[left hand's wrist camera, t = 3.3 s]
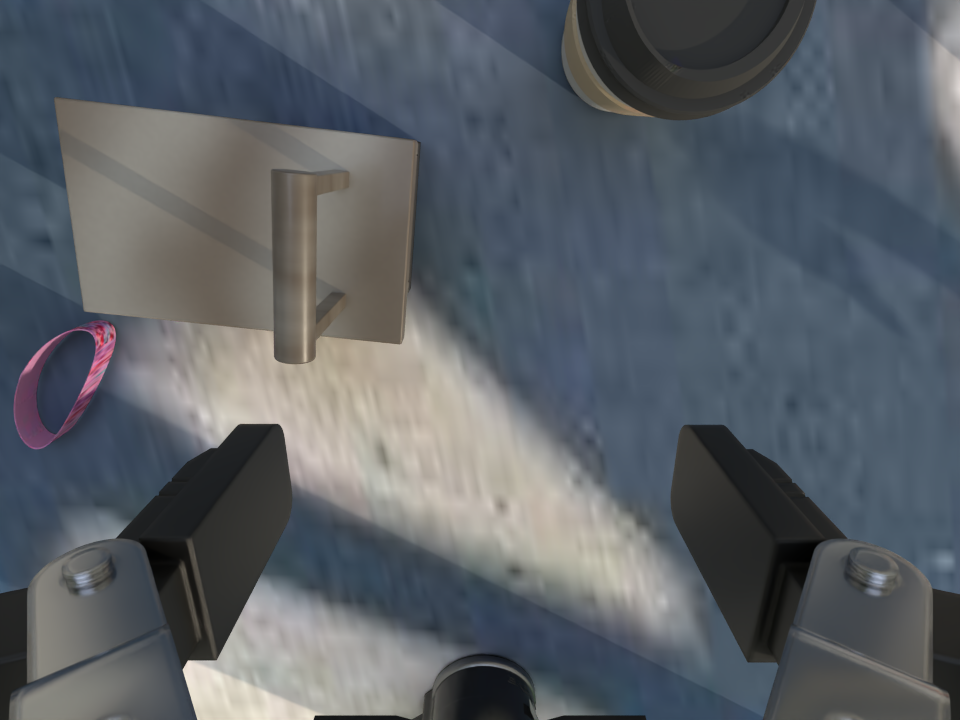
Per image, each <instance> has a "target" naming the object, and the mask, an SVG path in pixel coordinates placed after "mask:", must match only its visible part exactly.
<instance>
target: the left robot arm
mask: <svg viewBox="0 0 960 720" xmlns="http://www.w3.org/2000/svg"><path fill="white" fill-rule="evenodd" d="M291 507H292V488H291V481H290V473H289V466H288V459H287V452H286V445H285V438H284V433H283V430H282V428H281V426H280V425H279V424H240V425H238V426H237V427H236V428H235V429H234V430H233V431H232V432H231V433H230V435H229V436H228V437H227V438H226V439H225V440H224V441H223V443H222V444H221V445H220V446H219V447H218V448H211V449H209V450H207V451H205V452H204V453H202V454H200V455H199V456H197V457H195V458H194V459H192V460H190V461H188V462H187V463H186V464H185V465H184V466H183V467H182V468H181V469H180V470H179V472H178V473H177V474H176V475H175V476H174V477H173V478H172V482H168V483H167V484H166V485H165V486H164V488H163V489H162V490H161V491H160V492H159V496H155V497H154V498H153V499H152V500H151V501H150V502H149V504H148V505H147V506H146V507H145V508H144V509H143V510H142V511H141V512H140V513H139V514H138V515H137V516H136V517H135V518H134V520H133V521H132V522H131V523H130V524H129V525H128V526H127V527H126V528H125V529H124V530H123V531H122V532H121V533H120V534H119V536H118V537H117V538H116V539H108V540H102V541H97V542H93V543H90V544H87V545H84V546H81V547H78V548H76V549H74V550H71V551H69V552H67V553H65V554H63V555H62V556H60V557H58V558H56V559H55V560H53V561H52V562H50V563H49V564H48V565H46V566H45V567H44V568H43V569H42V570H41V571H40V572H39V573H38V574H37V575H36V576H35V577H34V578H33V580H32V581H31V583H30V585H29V587H28V588H24V589H20V590H15V591H10V592H5V593H1V594H0V720H197V717H196V714H195V711H194V707H193V704H192V701H191V697H190V694H189V690H188V687H187V684H186V680H185V677H184V674H183V668H184V666H185V664H186V663H187V661H188V660H217V658H218V657H219V655H220V653H221V651H222V649H223V647H224V645H225V643H226V641H227V639H228V637H229V635H230V633H231V631H232V629H233V627H234V626H235V624H236V622H237V620H238V618H239V616H240V614H241V612H242V610H243V608H244V606H245V604H246V602H247V600H248V598H249V596H250V595H251V593H252V591H253V589H254V587H255V585H256V583H257V581H258V579H259V577H260V575H261V573H262V571H263V569H264V567H265V566H266V564H267V562H268V560H269V558H270V556H271V554H272V552H273V550H274V548H275V546H276V544H277V542H278V540H279V538H280V536H281V535H282V533H283V531H284V529H285V527H286V525H287V523H288V520H289V517H290V513H291ZM671 509H672V515H673V519H674V521H675V524H676V526H677V528H678V530H679V532H680V534H681V536H682V537H683V539H684V541H685V543H686V545H687V547H688V549H689V551H690V553H691V555H692V557H693V559H694V560H695V562H696V564H697V566H698V568H699V570H700V572H701V574H702V576H703V578H704V580H705V582H706V583H707V585H708V587H709V589H710V591H711V593H712V595H713V597H714V599H715V601H716V603H717V604H718V606H719V608H720V610H721V612H722V614H723V616H724V618H725V620H726V622H727V624H728V626H729V627H730V629H731V631H732V633H733V635H734V637H735V639H736V641H737V643H738V645H739V647H740V648H741V650H742V652H743V654H744V656H745V658H746V660H747V662H777V664H778V665H779V667H778V670H777V674H776V677H775V680H774V684H773V687H772V690H771V694H770V697H769V701H768V704H767V707H766V711H765V714H764V717H763V720H960V594H955V593H951V592H946V591H941V590H937V589H933V588H932V587H931V585H930V583H929V581H928V580H927V578H926V577H925V576H924V575H923V574H922V573H921V572H920V571H919V570H918V569H917V568H916V567H915V566H914V565H912V564H911V563H910V562H908V561H907V560H905V559H904V558H902V557H900V556H898V555H897V554H895V553H893V552H891V551H889V550H886V549H884V548H882V547H879V546H876V545H873V544H870V543H867V542H863V541H858V540H852V539H848V538H847V537H846V536H845V535H844V534H843V533H842V532H841V531H840V530H839V529H838V528H837V527H836V526H835V525H834V524H833V523H832V522H831V520H830V519H829V518H828V517H827V516H826V515H825V514H824V513H823V512H822V511H821V510H820V509H819V508H818V507H817V506H816V505H815V504H814V502H813V501H812V500H811V499H810V498H809V497H805V493H804V492H803V491H802V490H801V489H800V488H799V487H798V486H797V485H796V483H792V479H791V478H790V477H789V476H788V475H787V474H786V473H785V472H784V471H783V470H782V469H781V468H780V467H779V465H778V464H777V463H775V462H773V461H772V460H770V459H768V458H767V457H765V456H763V455H761V454H760V453H758V452H756V451H755V450H753V449H745V447H744V446H743V445H742V444H741V443H740V442H739V441H738V440H737V438H736V437H735V436H734V435H733V434H732V433H731V432H730V431H729V429H728V428H727V427H726V426H724V425H684V426H683V427H682V429H681V431H680V434H679V439H678V446H677V453H676V460H675V467H674V474H673V481H672V488H671ZM535 704H536V700H535V690H534V685H533V682H532V680H531V678H530V676H529V675H528V674H527V673H526V671H525V670H523V669H522V668H521V667H520V666H518V665H517V664H515V663H513V662H511V661H509V660H507V659H504V658H500V657H495V656H472V657H467V658H464V659H461V660H458V661H456V662H454V663H452V664H450V665H449V666H448V667H446V668H445V669H444V670H443V671H442V672H441V673H440V674H439V675H438V677H437V679H436V680H435V683H434V686H433V689H432V690H431V691H430V692H428V693H426V694H425V699H424V708H423V714H421V715H419V716H418V717H416V718H414V719H412V720H538V718H537V715H536V711H535V710H536V706H535ZM314 720H411V719H407V718H403V717H400V716H315V717H314ZM549 720H646V717H645V716H560V717H557V718H553V719H549Z"/></svg>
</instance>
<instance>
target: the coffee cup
mask: <svg viewBox="0 0 960 720" xmlns="http://www.w3.org/2000/svg"><path fill="white" fill-rule="evenodd" d="M815 4H816V0H571V1H570V5H569V8H568V12H567V16H566V21H565V29H564V34H563V39H562V48H561V54H562V63H563V68H564V72H565V75H566V77H567V80H568V82H569V84H570V85H571V87H572V89H573V90H574V91H575V93H576V94H577V95H578V96H579V97H580V98H581V99H582V100H583V101H585V102H586V103H587V104H589V105H591V106H592V107H594V108H597V109H600V110H603V111H608V112H614V113H618V114H624V115H635V116H648V117H657V118H662V119H669V120H692V119H699V118H703V117H707V116H711V115H714V114H717V113H720V112H722V111H724V110H727V109H729V108H731V107H733V106H735V105H737V104H739V103H741V102H743V101H745V100H746V99H748V98H750V97H751V96H753V95H754V94H756V93H757V92H759V91H760V90H761V89H763V88H764V87H765V86H766V85H767V84H768V83H770V82H771V81H772V80H773V79H774V78H775V77H776V76H777V75H778V74H779V72H780V71H781V70H782V69H783V68H784V67H785V65H786V64H787V63H788V61H789V60H790V59H791V57H792V56H793V54H794V53H795V51H796V50H797V48H798V46H799V44H800V43H801V41H802V39H803V37H804V35H805V33H806V30H807V28H808V26H809V23H810V20H811V17H812V15H813V11H814V8H815Z"/></svg>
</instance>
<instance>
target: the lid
mask: <svg viewBox="0 0 960 720" xmlns="http://www.w3.org/2000/svg"><path fill="white" fill-rule="evenodd" d="M54 102H55V109H56V116H57V124H58V131H59V138H60V145H61V152H62V159H63V166H64V173H65V181H66V188H67V195H68V202H69V209H70V216H71V223H72V230H73V237H74V245H75V252H76V259H77V266H78V273H79V280H80V287H81V294H82V301H83V309H84V311H86V312H95V313H104V314H114V315H123V316H133V317H143V318H152V319H162V320H171V321H181V322H191V323H200V324H210V325H219V326H229V327H239V328H248V329H258V330H267V331H274V357H275V359H276V360H277V361H279V362H282V363H287V364H303V363H308V362H311V361H313V360H314V359H315V357H316V340H317V339H318V338H319V337H320V336H325V337H335V338H344V339H354V340H363V341H373V342H383V343H392V344H401V343H402V341H403V339H404V331H405V316H406V301H407V286H408V271H409V256H410V241H411V226H412V211H413V196H414V181H415V166H416V151H417V141H416V140H413V139H404V138H396V137H388V136H379V135H371V134H362V133H354V132H345V131H337V130H329V129H320V128H312V127H303V126H295V125H287V124H278V123H270V122H261V121H253V120H245V119H236V118H228V117H219V116H211V115H203V114H194V113H186V112H177V111H169V110H160V109H152V108H144V107H135V106H127V105H118V104H110V103H102V102H93V101H85V100H76V99H68V98H60V97H55V98H54Z"/></svg>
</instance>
